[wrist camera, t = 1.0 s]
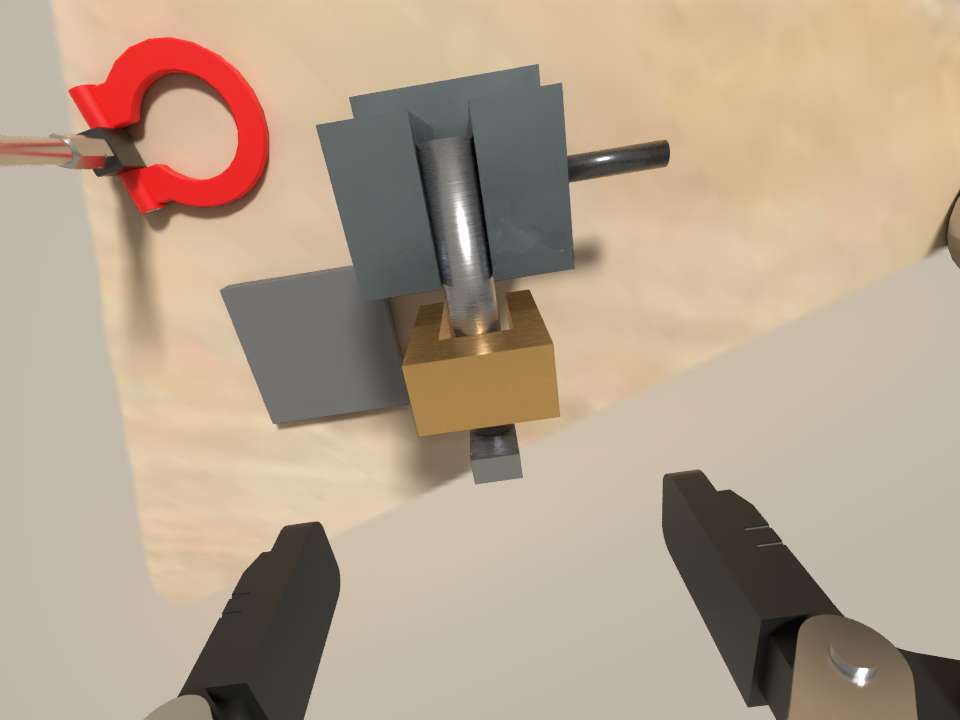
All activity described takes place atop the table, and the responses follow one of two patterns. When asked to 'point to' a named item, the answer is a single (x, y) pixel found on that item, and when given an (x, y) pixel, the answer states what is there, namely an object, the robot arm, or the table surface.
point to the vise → (464, 200)
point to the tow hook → (121, 107)
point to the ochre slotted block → (481, 371)
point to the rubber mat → (317, 344)
